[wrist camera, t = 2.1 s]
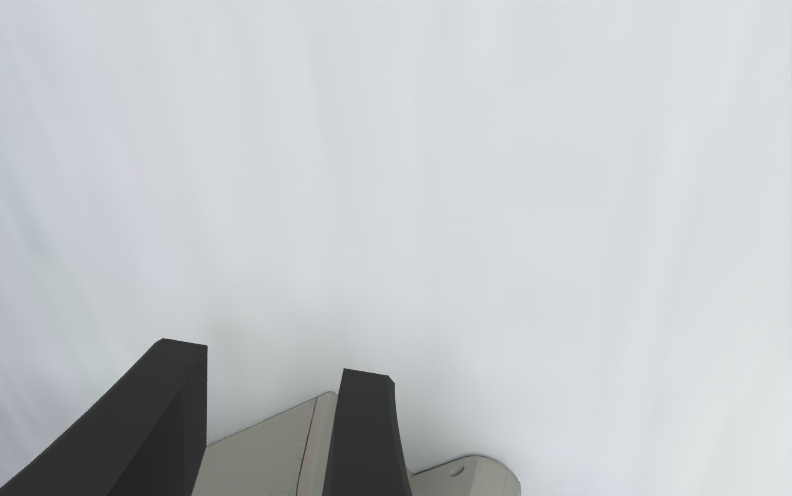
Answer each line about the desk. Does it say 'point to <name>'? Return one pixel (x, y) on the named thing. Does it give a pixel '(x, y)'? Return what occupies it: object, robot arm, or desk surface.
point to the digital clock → (323, 461)
